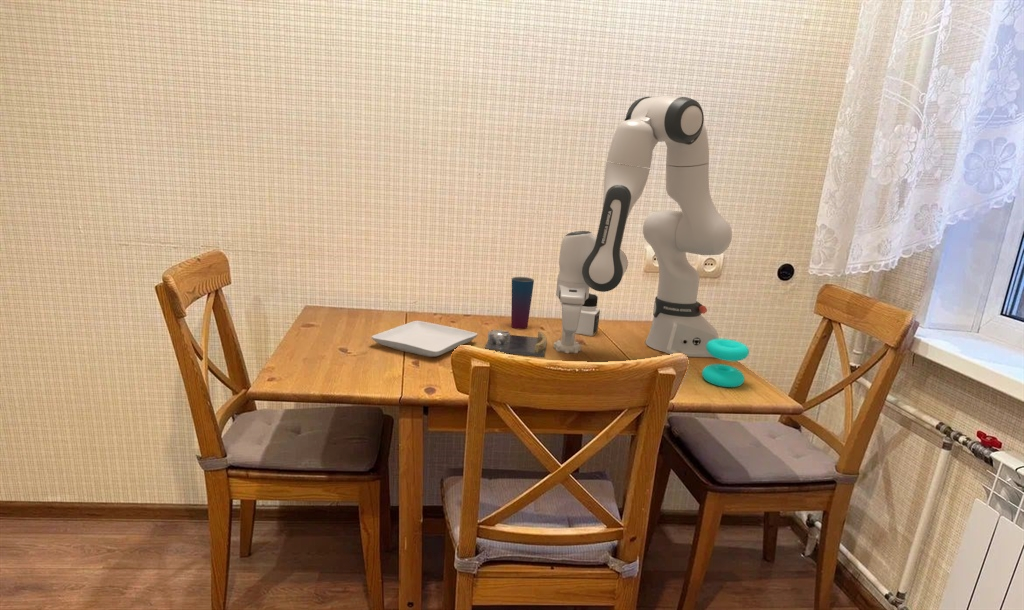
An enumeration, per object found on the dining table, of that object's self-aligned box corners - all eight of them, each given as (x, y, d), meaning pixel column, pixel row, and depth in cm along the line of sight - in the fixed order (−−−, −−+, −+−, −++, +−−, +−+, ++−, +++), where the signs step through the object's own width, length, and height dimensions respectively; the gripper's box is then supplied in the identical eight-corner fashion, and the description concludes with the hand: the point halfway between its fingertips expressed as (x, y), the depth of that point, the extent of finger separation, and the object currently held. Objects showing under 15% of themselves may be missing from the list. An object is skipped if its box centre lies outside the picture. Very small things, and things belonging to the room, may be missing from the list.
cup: (531, 324, 189) (534, 277, 185) (529, 330, 183) (533, 282, 179) (509, 322, 190) (512, 276, 186) (507, 328, 183) (510, 280, 179)
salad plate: (415, 329, 177) (416, 318, 176) (478, 343, 168) (479, 332, 167) (368, 348, 158) (368, 335, 157) (436, 364, 149) (437, 351, 148)
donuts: (739, 338, 153) (757, 350, 144) (733, 375, 156) (750, 390, 146) (701, 336, 153) (716, 348, 143) (695, 373, 155) (710, 388, 146)
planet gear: (580, 346, 171) (582, 326, 169) (580, 354, 164) (582, 333, 162) (554, 343, 171) (555, 323, 170) (553, 351, 164) (555, 330, 163)
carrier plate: (546, 341, 173) (547, 330, 172) (543, 357, 159) (545, 344, 158) (491, 336, 174) (492, 324, 173) (484, 351, 161) (484, 338, 160)
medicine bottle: (593, 336, 181) (597, 297, 178) (570, 332, 183) (573, 294, 180) (597, 330, 188) (601, 293, 185) (575, 327, 190) (579, 290, 187)
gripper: (561, 281, 174) (557, 327, 177) (560, 297, 154) (555, 349, 157) (583, 283, 173) (579, 329, 177) (584, 299, 153) (579, 351, 157)
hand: (568, 339), depth 167 cm, fingers closed on planet gear, 4 cm apart
